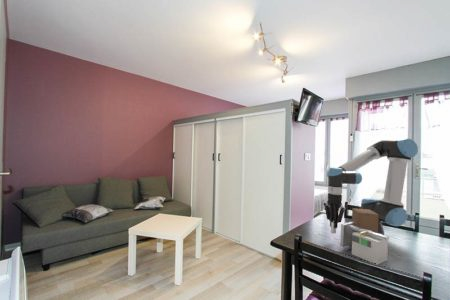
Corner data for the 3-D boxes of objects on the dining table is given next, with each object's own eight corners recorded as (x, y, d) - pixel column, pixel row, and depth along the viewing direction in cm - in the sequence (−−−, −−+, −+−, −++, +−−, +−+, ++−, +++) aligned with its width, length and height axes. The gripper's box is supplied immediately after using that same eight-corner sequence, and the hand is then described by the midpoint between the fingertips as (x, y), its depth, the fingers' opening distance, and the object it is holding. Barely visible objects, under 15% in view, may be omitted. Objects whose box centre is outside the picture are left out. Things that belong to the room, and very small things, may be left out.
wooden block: (377, 250, 116) (378, 214, 116) (357, 247, 118) (359, 212, 118) (369, 242, 126) (370, 209, 126) (350, 240, 128) (352, 208, 128)
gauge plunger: (352, 242, 121) (353, 221, 121) (392, 257, 104) (393, 233, 104) (339, 246, 115) (340, 224, 115) (380, 263, 98) (381, 237, 98)
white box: (361, 250, 116) (362, 230, 116) (387, 260, 105) (387, 238, 105) (351, 253, 110) (351, 233, 110) (376, 265, 100) (377, 242, 100)
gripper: (321, 191, 129) (319, 230, 129) (341, 196, 118) (340, 238, 117) (328, 191, 133) (327, 228, 132) (349, 195, 121) (347, 235, 121)
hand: (333, 232), depth 125 cm, fingers closed
